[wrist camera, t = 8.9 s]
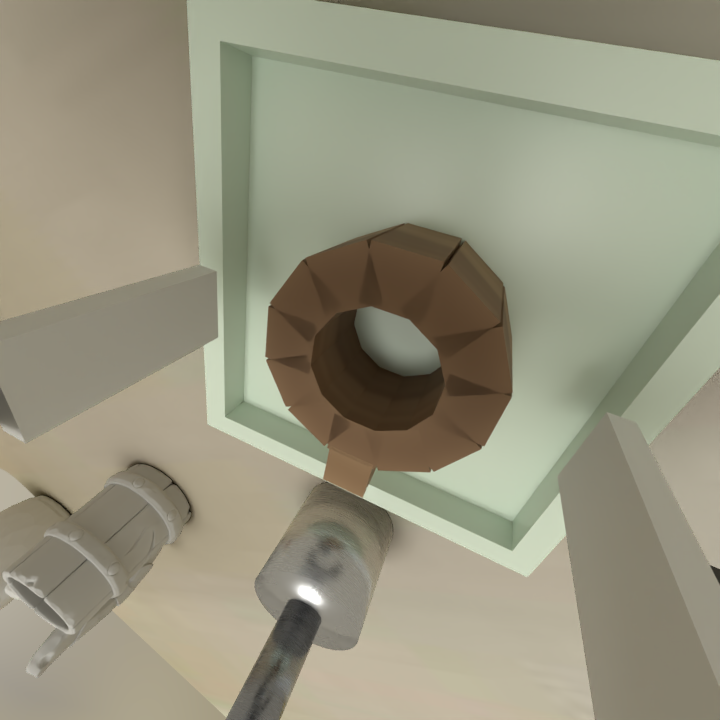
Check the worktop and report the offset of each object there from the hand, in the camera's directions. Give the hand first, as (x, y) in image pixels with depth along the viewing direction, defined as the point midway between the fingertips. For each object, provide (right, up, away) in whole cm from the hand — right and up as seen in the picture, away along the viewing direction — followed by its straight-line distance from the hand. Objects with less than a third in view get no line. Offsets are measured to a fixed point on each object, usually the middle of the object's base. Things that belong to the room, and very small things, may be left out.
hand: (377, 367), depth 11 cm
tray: (+2, +2, +3) cm, 4 cm away
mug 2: (-19, -14, +21) cm, 31 cm away
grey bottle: (-1, -10, +11) cm, 15 cm away
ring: (+1, +2, +3) cm, 4 cm away
